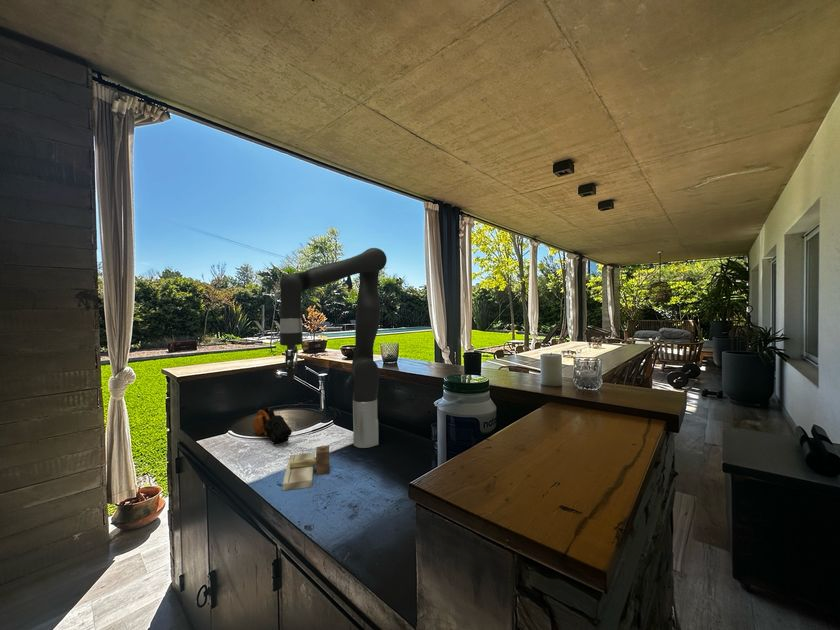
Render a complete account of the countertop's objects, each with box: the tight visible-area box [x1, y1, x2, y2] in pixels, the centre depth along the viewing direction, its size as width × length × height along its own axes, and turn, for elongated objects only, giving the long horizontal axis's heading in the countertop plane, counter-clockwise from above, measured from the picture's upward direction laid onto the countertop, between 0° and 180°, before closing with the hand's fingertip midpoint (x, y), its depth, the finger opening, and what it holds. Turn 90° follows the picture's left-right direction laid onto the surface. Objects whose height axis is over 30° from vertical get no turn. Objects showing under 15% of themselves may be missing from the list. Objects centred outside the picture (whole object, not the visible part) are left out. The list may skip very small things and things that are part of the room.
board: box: [282, 451, 316, 492], centre depth 109 cm, size 8×20×2 cm, turn 15°
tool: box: [252, 406, 292, 446], centre depth 138 cm, size 8×23×15 cm, turn 47°
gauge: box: [290, 445, 331, 476], centre depth 109 cm, size 12×5×8 cm, turn 105°
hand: (291, 377), depth 121 cm, fingers open, 8 cm apart
